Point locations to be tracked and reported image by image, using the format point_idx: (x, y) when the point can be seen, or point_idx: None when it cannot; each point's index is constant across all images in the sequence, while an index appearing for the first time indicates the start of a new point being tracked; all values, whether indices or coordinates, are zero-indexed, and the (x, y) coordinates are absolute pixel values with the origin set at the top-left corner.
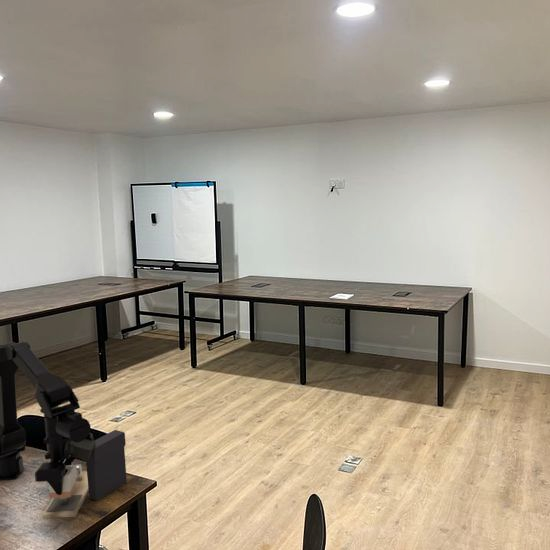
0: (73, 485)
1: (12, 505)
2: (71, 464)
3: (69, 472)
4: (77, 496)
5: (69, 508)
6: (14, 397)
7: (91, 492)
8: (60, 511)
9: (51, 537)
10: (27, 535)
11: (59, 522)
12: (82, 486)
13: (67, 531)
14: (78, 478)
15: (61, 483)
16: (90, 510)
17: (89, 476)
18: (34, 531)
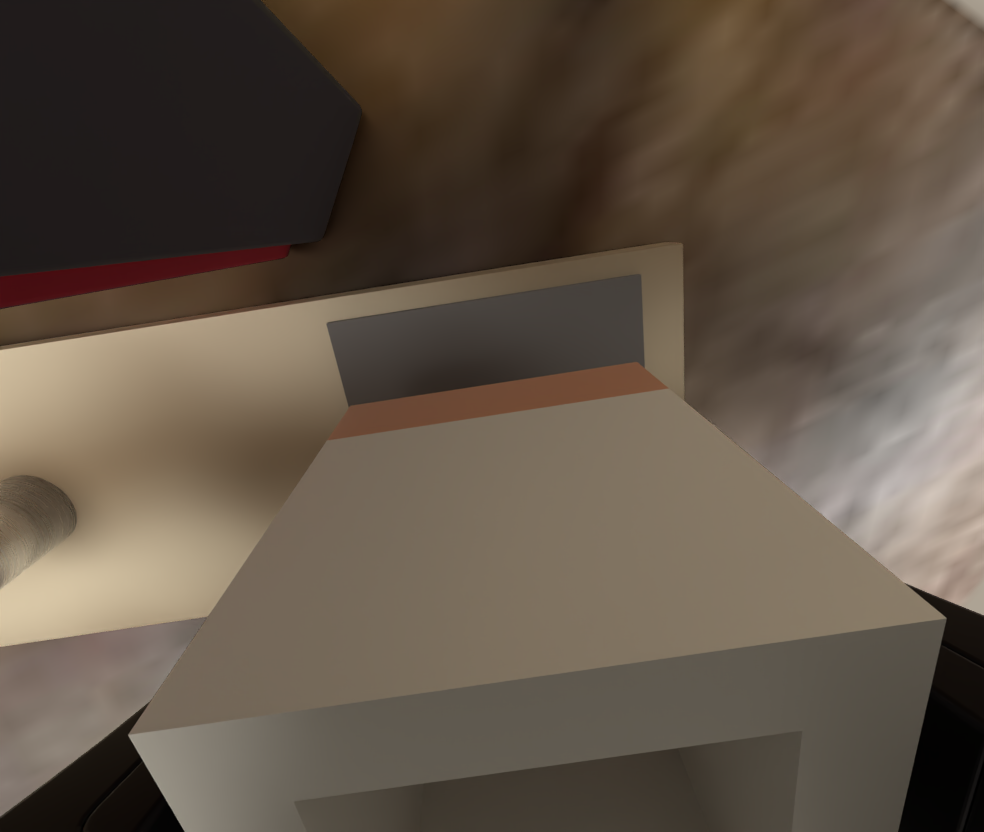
0: (471, 418)
1: None
2: (81, 821)
3: (741, 666)
4: (369, 365)
5: (607, 344)
6: None
7: (315, 184)
8: None
9: (975, 322)
10: (890, 527)
11: (746, 360)
12: (153, 406)
13: (916, 206)
14: (39, 512)
15: (945, 601)
16: (551, 112)
17: (179, 179)
18: (846, 503)
